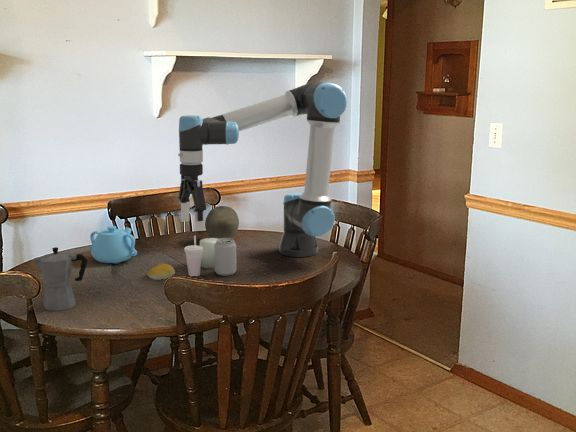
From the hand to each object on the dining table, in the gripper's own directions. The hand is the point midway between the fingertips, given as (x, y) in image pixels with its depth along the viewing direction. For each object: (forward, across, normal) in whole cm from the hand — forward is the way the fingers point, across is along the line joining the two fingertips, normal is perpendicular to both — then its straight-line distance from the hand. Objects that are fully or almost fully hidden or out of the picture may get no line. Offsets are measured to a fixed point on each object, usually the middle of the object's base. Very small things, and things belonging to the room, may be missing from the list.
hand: (192, 225), depth 212 cm
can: (+18, +3, +11) cm, 21 cm away
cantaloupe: (+17, -33, +25) cm, 45 cm away
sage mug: (+17, -8, +10) cm, 21 cm away
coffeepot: (+18, +9, -44) cm, 48 cm away
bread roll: (+18, -4, -10) cm, 21 cm away
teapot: (+18, -31, -18) cm, 41 cm away
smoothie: (+18, 0, 0) cm, 18 cm away
